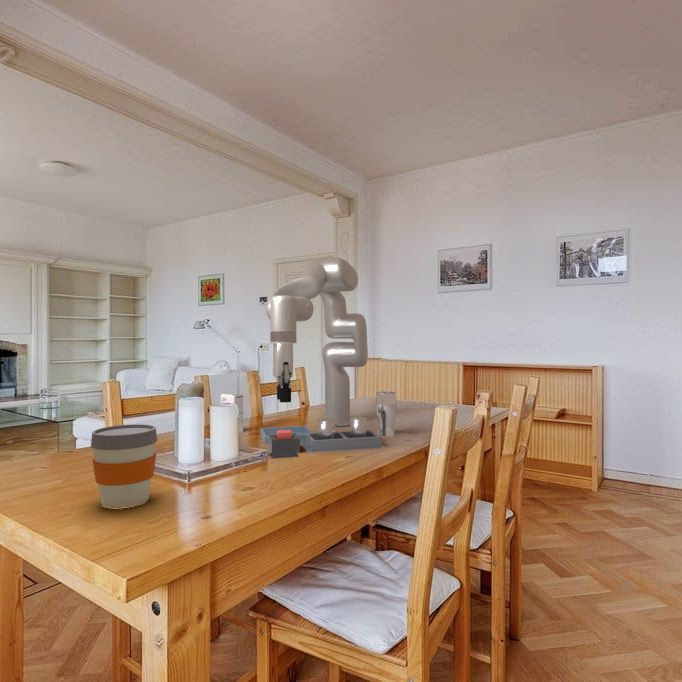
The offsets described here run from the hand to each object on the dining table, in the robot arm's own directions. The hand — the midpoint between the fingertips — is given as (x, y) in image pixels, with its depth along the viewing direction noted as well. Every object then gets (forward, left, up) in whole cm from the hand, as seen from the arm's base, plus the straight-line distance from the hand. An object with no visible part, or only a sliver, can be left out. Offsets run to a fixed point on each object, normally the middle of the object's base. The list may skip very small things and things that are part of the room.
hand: (283, 400), depth 140 cm
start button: (0, 0, -12) cm, 12 cm away
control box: (0, 0, -16) cm, 16 cm away
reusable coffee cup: (+32, -37, -16) cm, 51 cm away
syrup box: (-30, -14, -16) cm, 37 cm away
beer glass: (-14, +36, -16) cm, 42 cm away
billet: (-2, +13, -15) cm, 20 cm away
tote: (-18, +3, -16) cm, 24 cm away
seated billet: (-2, +23, -15) cm, 27 cm away
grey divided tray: (-2, +18, -16) cm, 24 cm away
